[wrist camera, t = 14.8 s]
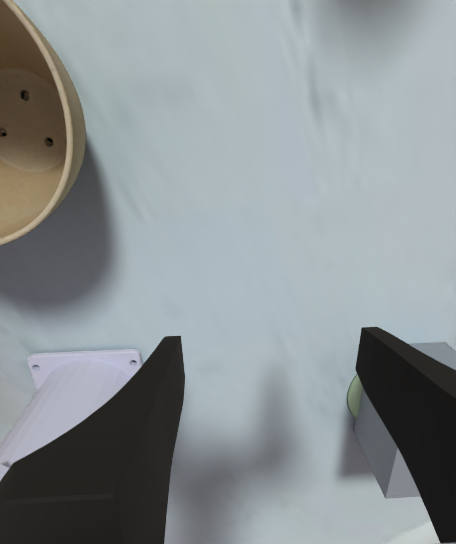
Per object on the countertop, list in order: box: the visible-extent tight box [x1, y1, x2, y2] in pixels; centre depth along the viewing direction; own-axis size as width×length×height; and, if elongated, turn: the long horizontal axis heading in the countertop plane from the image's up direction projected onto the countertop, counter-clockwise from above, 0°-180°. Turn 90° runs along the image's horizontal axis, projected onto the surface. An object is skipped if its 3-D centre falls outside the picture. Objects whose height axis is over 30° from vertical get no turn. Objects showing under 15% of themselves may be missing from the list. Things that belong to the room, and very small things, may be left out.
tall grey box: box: [354, 342, 456, 498], centre depth 23 cm, size 9×6×6 cm
